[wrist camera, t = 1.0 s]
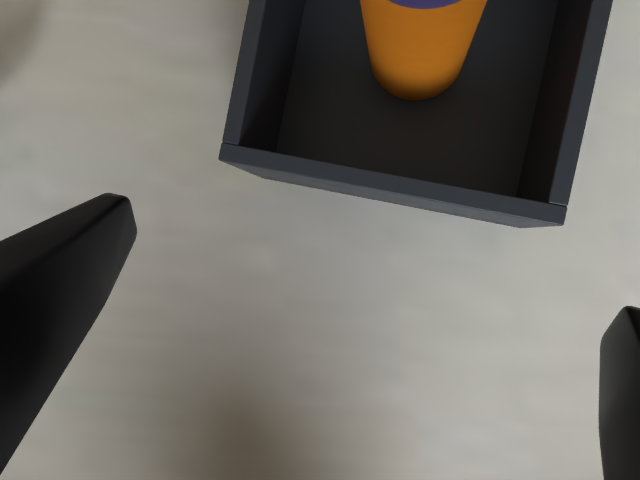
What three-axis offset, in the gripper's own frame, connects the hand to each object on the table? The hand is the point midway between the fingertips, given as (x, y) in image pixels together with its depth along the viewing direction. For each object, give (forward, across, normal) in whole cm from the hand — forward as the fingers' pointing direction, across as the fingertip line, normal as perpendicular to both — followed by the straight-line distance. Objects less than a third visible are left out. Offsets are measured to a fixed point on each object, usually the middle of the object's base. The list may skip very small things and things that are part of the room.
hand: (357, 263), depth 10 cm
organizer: (+15, 0, +3) cm, 15 cm away
